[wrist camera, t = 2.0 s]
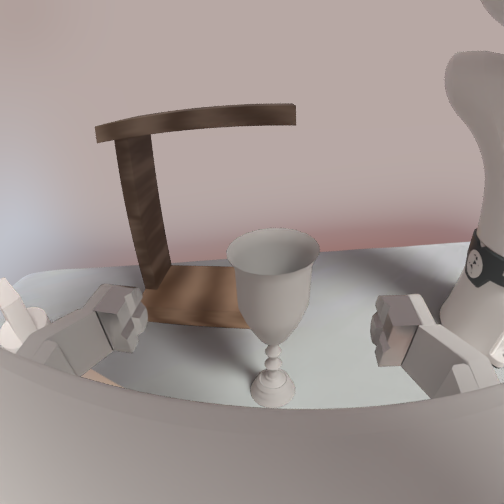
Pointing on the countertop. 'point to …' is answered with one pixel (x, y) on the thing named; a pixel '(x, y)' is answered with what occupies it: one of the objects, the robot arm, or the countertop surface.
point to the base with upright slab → (18, 318)
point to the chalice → (273, 298)
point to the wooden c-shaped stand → (151, 222)
